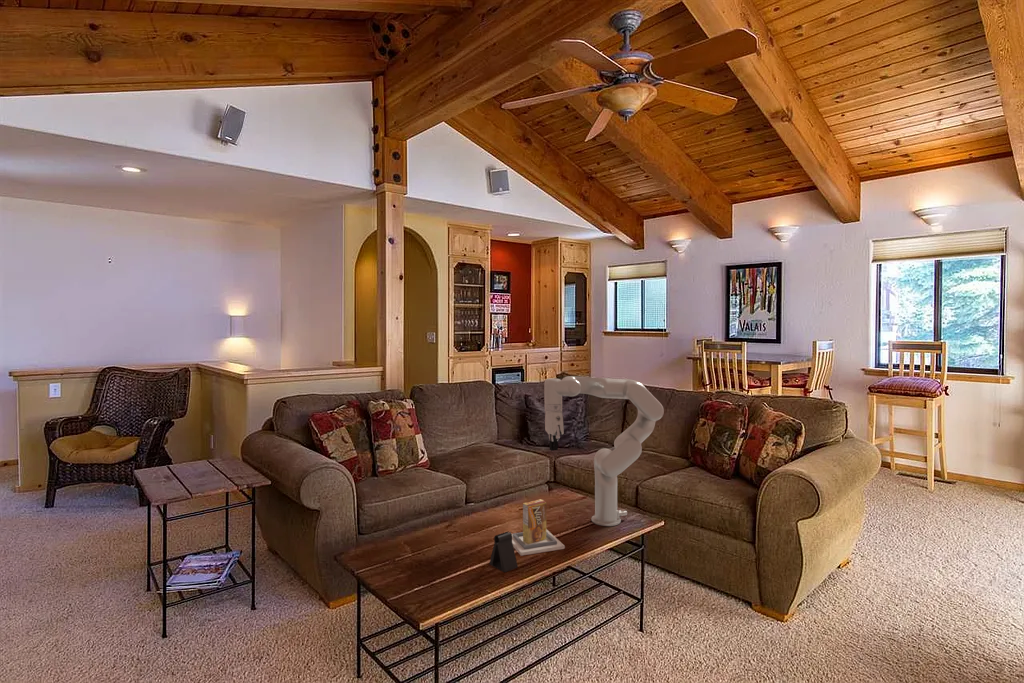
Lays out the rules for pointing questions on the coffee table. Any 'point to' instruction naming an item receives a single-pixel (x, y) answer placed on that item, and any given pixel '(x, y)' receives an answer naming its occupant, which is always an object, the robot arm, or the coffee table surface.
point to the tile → (536, 544)
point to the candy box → (534, 521)
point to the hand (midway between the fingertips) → (553, 449)
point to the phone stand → (503, 553)
